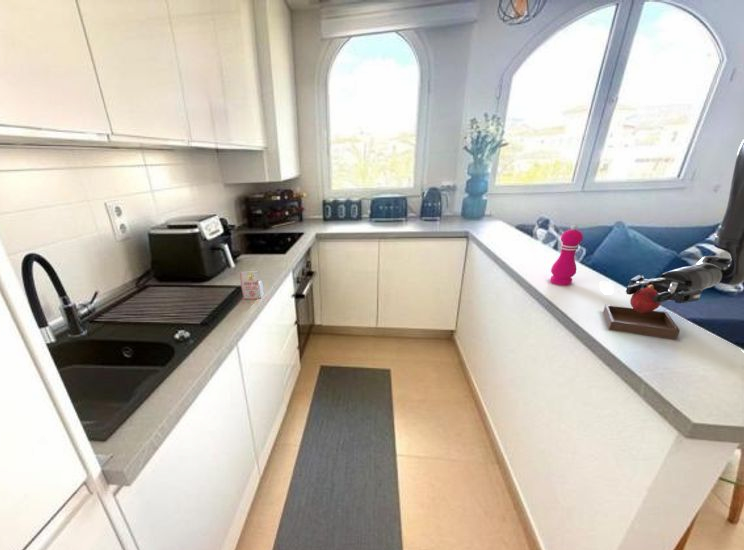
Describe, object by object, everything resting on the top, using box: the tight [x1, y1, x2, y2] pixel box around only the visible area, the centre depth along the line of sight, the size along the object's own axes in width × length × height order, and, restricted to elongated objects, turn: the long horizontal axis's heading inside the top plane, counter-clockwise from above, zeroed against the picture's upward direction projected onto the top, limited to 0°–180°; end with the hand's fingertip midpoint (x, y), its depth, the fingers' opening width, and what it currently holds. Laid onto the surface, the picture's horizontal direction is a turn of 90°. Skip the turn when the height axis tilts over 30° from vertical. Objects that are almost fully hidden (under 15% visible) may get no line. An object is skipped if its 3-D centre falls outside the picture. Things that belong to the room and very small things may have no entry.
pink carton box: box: [239, 270, 265, 301], centre depth 125 cm, size 4×7×10 cm, turn 85°
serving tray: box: [602, 304, 681, 340], centre depth 91 cm, size 13×11×2 cm
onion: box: [629, 285, 662, 314], centre depth 88 cm, size 6×6×8 cm
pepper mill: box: [549, 224, 584, 286], centre depth 116 cm, size 7×7×20 cm
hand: (642, 294), depth 87 cm, fingers closed on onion, 5 cm apart
